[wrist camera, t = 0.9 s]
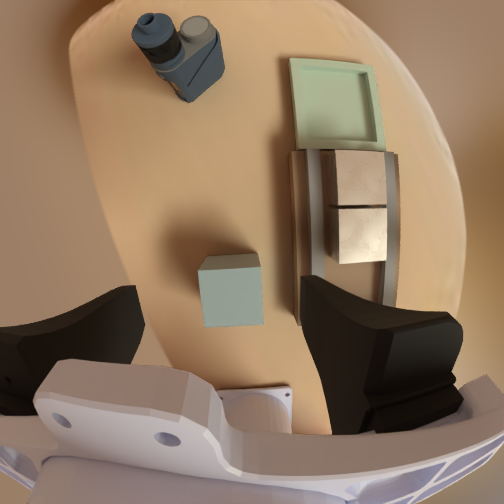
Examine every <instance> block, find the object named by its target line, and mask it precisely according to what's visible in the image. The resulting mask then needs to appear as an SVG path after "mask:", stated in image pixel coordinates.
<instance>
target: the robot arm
mask: <svg viewBox="0 0 504 504" xmlns="http://www.w3.org/2000/svg"><path fill="white" fill-rule="evenodd" d="M300 321H301V326H302V330H303V334H304V337H305V340H306V342H307V345H308V348H309V350H310V353H311V355H312V358H313V360H314V363H315V365H316V368H317V370H318V373H319V376H320V379H321V383H322V387H323V391H324V395H325V399H326V404H327V409H328V413H329V418H330V424H331V429H332V435H311V434H293V433H292V430H291V421H292V388H291V387H290V386H281V387H269V388H255V389H233V390H218V391H215V389H214V388H213V386H212V385H211V384H210V383H208V382H206V381H205V380H203V379H201V378H200V377H198V376H196V375H195V374H193V373H191V372H190V371H184V370H179V369H175V368H169V367H165V366H148V365H130V364H131V362H132V360H133V357H134V355H135V353H136V351H137V349H138V346H139V344H140V341H141V338H142V335H143V331H144V327H145V322H144V318H143V314H142V310H141V306H140V302H139V298H138V294H137V290H136V285H129V286H121V287H118V288H115V289H114V290H111V291H109V292H107V293H105V294H103V295H101V296H99V297H97V298H95V299H94V300H92V301H90V302H88V303H86V304H83V305H81V306H79V307H77V308H75V309H73V310H71V311H68V312H66V313H63V314H61V315H58V316H55V317H52V318H49V319H46V320H42V321H39V322H34V323H30V324H25V325H19V326H11V327H0V470H1V471H2V472H4V473H5V474H7V475H8V476H10V477H11V478H13V479H14V480H16V481H18V482H19V483H21V484H22V485H24V486H26V487H27V488H29V489H30V490H32V492H31V494H30V497H29V499H28V502H27V504H416V503H418V502H420V501H422V500H424V499H426V498H428V497H430V496H432V495H433V494H435V493H437V492H439V491H441V490H442V489H444V488H446V487H447V486H449V485H451V484H453V483H455V482H456V481H458V480H459V479H461V478H463V477H464V476H466V475H467V474H469V473H471V472H473V471H474V470H476V469H477V468H479V467H480V466H482V465H483V464H485V463H486V462H487V461H488V460H489V459H490V458H491V457H492V456H493V455H494V454H495V452H496V451H497V450H498V449H499V448H500V447H501V446H502V444H503V443H504V394H503V393H502V392H501V390H500V389H499V388H498V387H497V386H496V385H495V384H494V382H493V381H492V380H491V379H490V378H489V377H488V376H487V374H486V375H483V376H481V377H479V378H477V379H475V380H472V381H470V382H468V383H466V384H465V385H463V386H462V387H461V388H460V389H459V390H457V388H456V387H455V386H454V385H453V384H454V383H455V381H456V377H455V376H454V375H453V373H452V372H451V371H452V369H453V366H454V364H455V362H456V359H457V357H458V354H459V352H460V349H461V345H462V342H463V329H462V326H461V325H460V324H459V323H458V322H457V321H456V320H455V319H454V318H453V317H452V316H451V315H450V314H449V313H448V312H434V311H415V310H406V309H400V308H395V307H390V306H386V305H382V304H378V303H375V302H372V301H369V300H366V299H363V298H361V297H358V296H356V295H354V294H352V293H349V292H347V291H345V290H343V289H341V288H339V287H338V286H336V285H334V284H332V283H330V282H328V281H326V280H325V279H323V278H321V277H319V276H317V275H306V276H300ZM286 393H289V394H286ZM220 397H222V398H220Z"/></svg>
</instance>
